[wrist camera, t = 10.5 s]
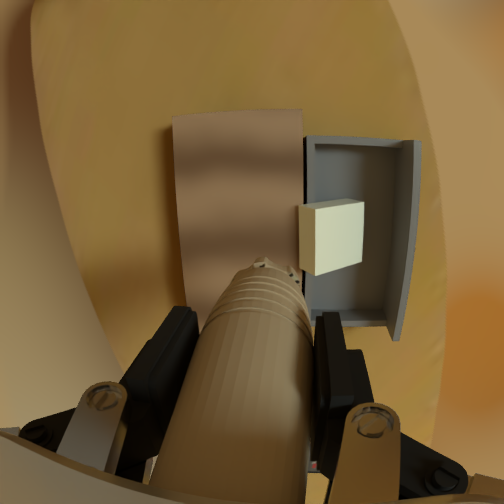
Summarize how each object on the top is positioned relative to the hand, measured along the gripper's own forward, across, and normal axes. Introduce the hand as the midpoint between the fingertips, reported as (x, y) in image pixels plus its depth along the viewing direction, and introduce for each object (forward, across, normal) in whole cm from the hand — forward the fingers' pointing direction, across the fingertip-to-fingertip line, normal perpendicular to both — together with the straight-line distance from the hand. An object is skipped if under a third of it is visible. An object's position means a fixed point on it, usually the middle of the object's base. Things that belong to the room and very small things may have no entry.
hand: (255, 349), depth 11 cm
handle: (+6, 0, 0) cm, 6 cm away
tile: (+16, -4, 0) cm, 17 cm away
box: (+18, -6, +1) cm, 19 cm away
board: (+18, +3, +1) cm, 19 cm away
